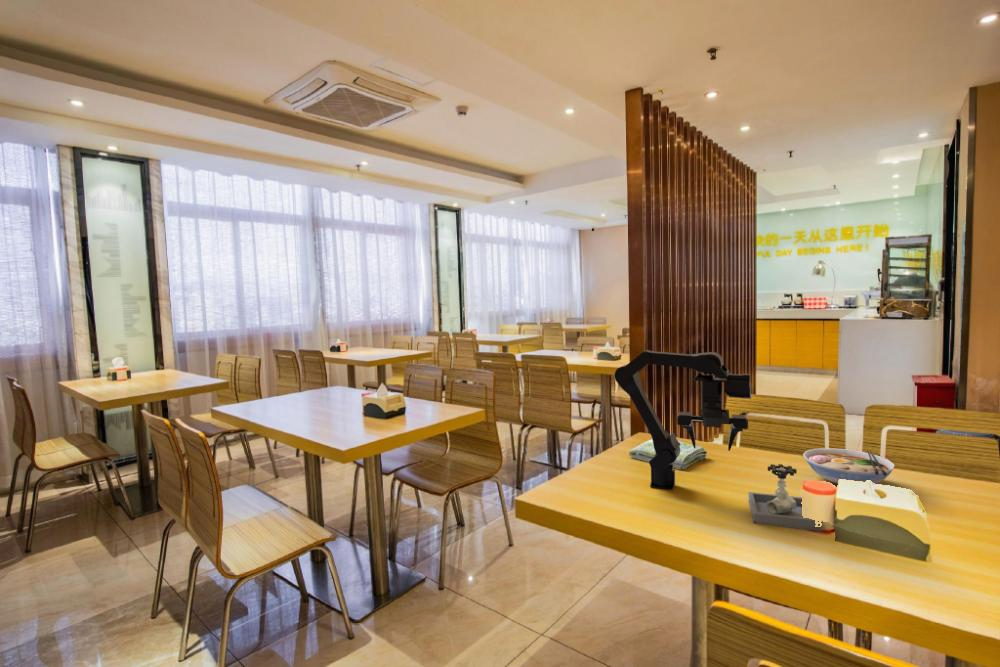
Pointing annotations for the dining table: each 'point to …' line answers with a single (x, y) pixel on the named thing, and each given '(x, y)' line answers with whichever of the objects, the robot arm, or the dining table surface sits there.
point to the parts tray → (785, 520)
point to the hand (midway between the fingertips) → (711, 449)
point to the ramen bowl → (848, 465)
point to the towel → (683, 460)
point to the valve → (781, 491)
